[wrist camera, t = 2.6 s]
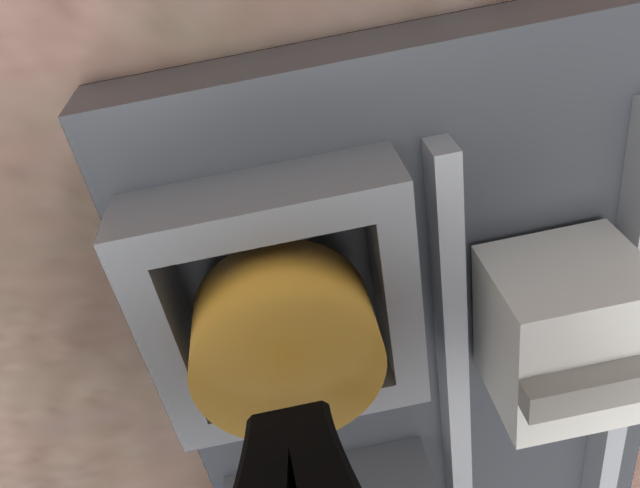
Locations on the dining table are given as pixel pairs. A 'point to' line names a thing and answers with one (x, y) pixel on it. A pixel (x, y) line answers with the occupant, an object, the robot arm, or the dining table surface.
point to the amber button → (283, 336)
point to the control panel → (375, 207)
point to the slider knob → (559, 331)
